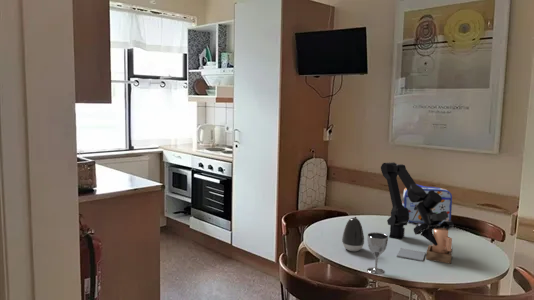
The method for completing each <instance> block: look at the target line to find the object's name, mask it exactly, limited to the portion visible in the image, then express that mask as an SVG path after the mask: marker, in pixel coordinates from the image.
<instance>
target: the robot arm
mask: <svg viewBox="0 0 534 300" xmlns="http://www.w3.org/2000/svg"><path fill="white" fill-rule="evenodd" d="M380 172H381V174H382V176H383V178H385V179H386V182H387V186H388V191H389V195H390V196H389V197H390V202H391V205H392V208H391V211H390V216H389V218H388V219H387V221H386V222H387V225H388V226H390V227H389V235H388V238H395V239H398V240H399V239H400V240H402V239H403V238H404V237H405V233H406V232H405V231H406V229H405V227H404V226H407V225H408V223H409V222H408V220H409V213H408V209H407V208H405V207H404V206H403V201H402V198H401V192H400V188H399V183H398V182H399V181H398V177H399V179H400V180H401V182H402V184H403V185H404V186H405V188H407V195H408V197H409V199H410V201H411V202H414V203H415V202H420V203H419V204H416V205H415V207H414V210H418V211H419V213H420V215H421V219H420V220H421V221H423V222H424V223H417V224H416V226H414V228H413V233H414V234H415V236H416V235H420V236H422V237H424V238H425V239H427V240H428V241H429V242H430V243H432V245H433V244H434V245H435V246H437V242H436V240H435V237H434V235H433V234H434V232H433V230H434V228H445V229H447V230H448V231H449V230H450V229H452V228H453V227H455V225H454V222H453V221H452V220H450V221H444V222H443V223H442V224H439V223H441V220H446V218H448V214H447V212H446V211H443V212H441V213H437V214H436V213H435V212H433V211H432V209H433V208H435V207H436V206H437V205H438V204H439V203H440V202H441V201H442V198H441V196H440V195H439V194H438V193H436V192H434V190H430V191H429V192H428V194H427V193H426V192H425V191H424V190H423V189H422V188H421V187H419V186H418V185H419V184H418V185H417V183H416V182H415V180H414V178H413V177H412V176H411V174H410V173H409V171H408V170H407V167H406V165H405V164H402V163H401V164H398V163H396V162H395V161H394V162H393V161H391V162H382V164H381V166H380Z"/></svg>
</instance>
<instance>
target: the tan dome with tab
mask: <svg viewBox="0 0 534 300" xmlns="http://www.w3.org/2000/svg"><path fill="white" fill-rule="evenodd" d="M433 235H434V237H435V240H436V242H437V246H435V245H434V244H433V243H432V245H433V248H432V252H436V253H442V254H447V251H451V249H452V245H453V243H452V242H453V238H452V237H450V236H449V230H447V229H445V228H434V229H433Z"/></svg>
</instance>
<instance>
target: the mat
mask: <svg viewBox="0 0 534 300" xmlns="http://www.w3.org/2000/svg"><path fill="white" fill-rule="evenodd" d="M426 252H427V251H420V250H415V249H409V248H403V247H401V248H400V249H399V251H398V253H397V255H396V257H397V258H401V259H407V260H414V261H418V262H423V261H424V260H425V257H426Z"/></svg>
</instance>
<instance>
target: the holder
mask: <svg viewBox="0 0 534 300" xmlns="http://www.w3.org/2000/svg"><path fill="white" fill-rule="evenodd" d="M432 248H433V244H428V247H427V249H426V251H425V252H426V253H425V259H426V260H429V261H434V262H438V263H439V262H441V263H445V264H451V263H452V257H453V248H451V251H447V254H442V253H436V252H432Z"/></svg>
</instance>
